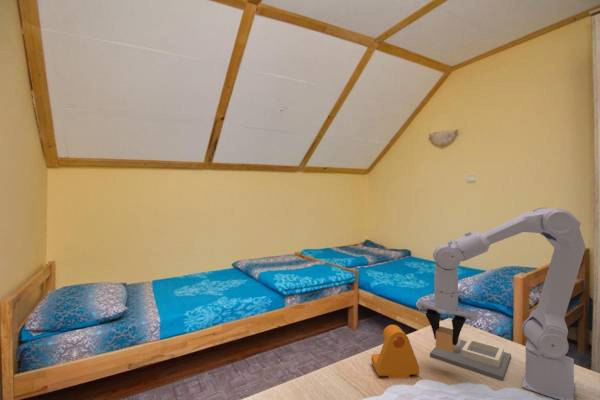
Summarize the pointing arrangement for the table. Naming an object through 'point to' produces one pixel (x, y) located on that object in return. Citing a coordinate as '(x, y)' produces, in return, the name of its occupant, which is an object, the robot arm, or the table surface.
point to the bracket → (395, 355)
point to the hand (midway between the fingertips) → (446, 340)
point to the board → (476, 357)
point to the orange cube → (445, 339)
